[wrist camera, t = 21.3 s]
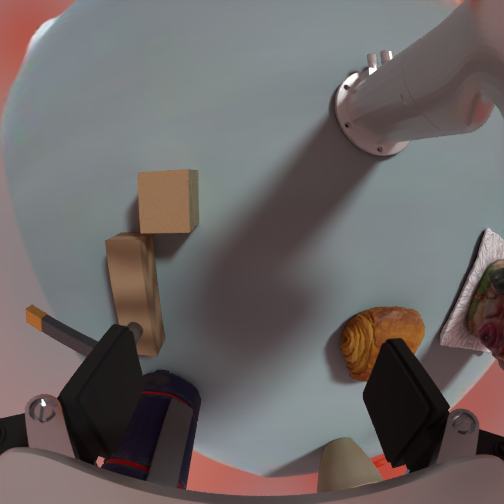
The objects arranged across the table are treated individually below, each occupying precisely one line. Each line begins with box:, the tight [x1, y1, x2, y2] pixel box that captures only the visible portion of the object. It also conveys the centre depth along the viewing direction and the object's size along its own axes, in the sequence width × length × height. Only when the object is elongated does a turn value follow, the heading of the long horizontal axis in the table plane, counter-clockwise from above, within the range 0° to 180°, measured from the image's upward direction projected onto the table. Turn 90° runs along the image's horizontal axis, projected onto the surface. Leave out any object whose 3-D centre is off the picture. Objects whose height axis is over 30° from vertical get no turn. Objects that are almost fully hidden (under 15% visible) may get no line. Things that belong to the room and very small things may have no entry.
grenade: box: [101, 370, 201, 490], centre depth 29 cm, size 14×12×30 cm
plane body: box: [105, 232, 165, 357], centre depth 32 cm, size 17×5×11 cm, turn 179°
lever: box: [26, 305, 98, 356], centre depth 26 cm, size 16×3×2 cm, turn 70°
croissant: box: [340, 306, 425, 382], centre depth 38 cm, size 14×16×8 cm
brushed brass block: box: [138, 169, 199, 233], centre depth 32 cm, size 7×6×6 cm
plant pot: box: [317, 438, 384, 493], centre depth 42 cm, size 15×15×16 cm
